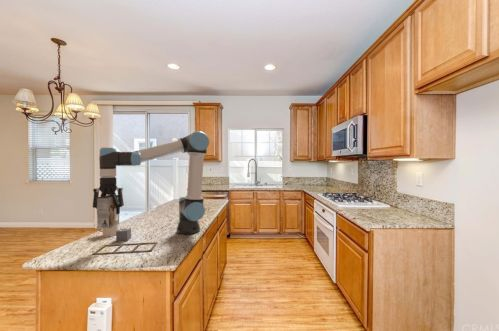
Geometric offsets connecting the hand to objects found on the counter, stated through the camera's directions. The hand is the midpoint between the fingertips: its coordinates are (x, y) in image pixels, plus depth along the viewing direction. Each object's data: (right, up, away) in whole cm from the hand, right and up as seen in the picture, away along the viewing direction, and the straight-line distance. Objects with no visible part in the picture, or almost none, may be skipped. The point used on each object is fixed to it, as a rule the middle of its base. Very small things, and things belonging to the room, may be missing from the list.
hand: (108, 220), depth 122 cm
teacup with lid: (-16, -15, +26) cm, 34 cm away
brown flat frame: (+9, -15, +1) cm, 18 cm away
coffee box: (0, -3, 0) cm, 3 cm away
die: (0, -15, +16) cm, 22 cm away
